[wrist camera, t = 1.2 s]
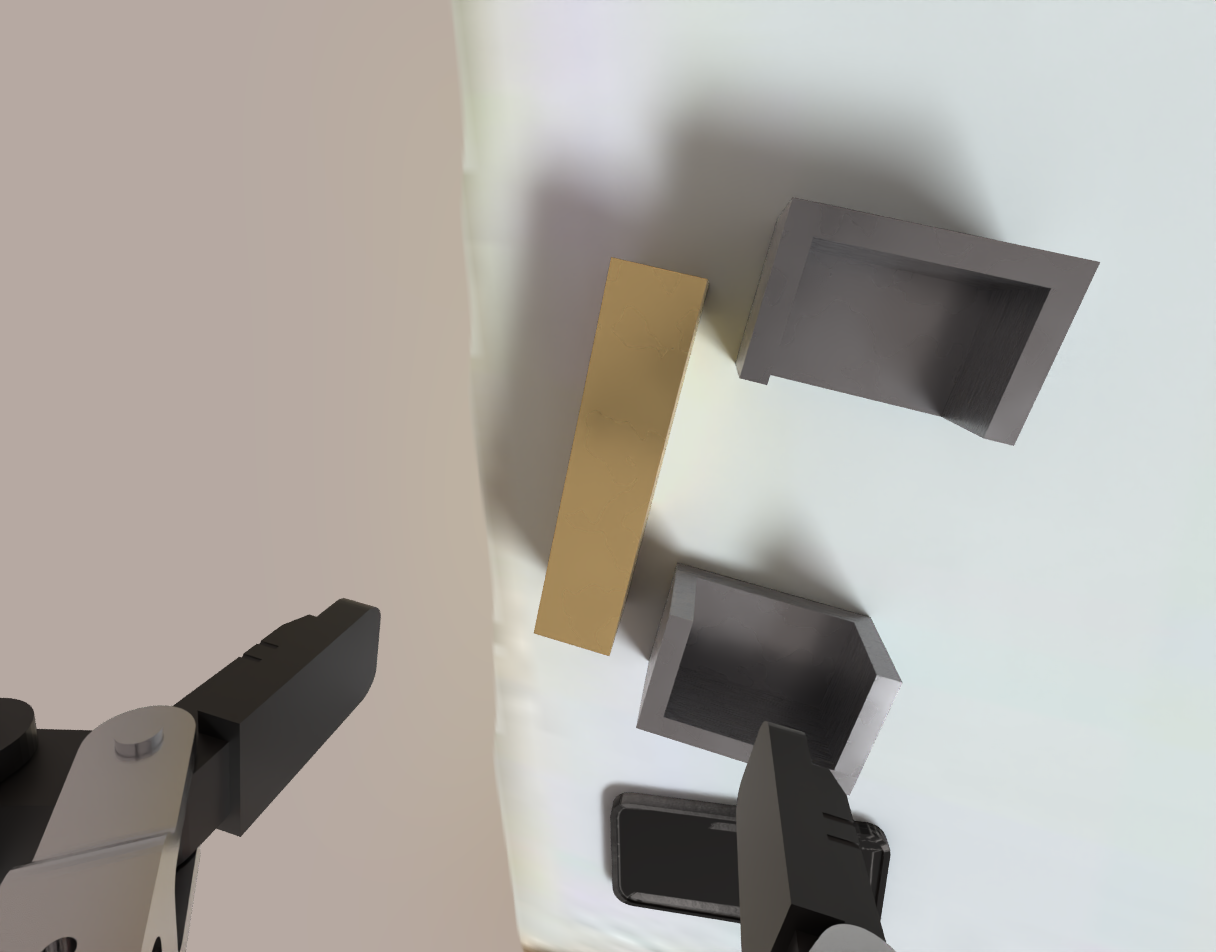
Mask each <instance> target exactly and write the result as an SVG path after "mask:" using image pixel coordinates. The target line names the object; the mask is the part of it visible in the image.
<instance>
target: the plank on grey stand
mask: <svg viewBox="0 0 1216 952" xmlns="http://www.w3.org/2000/svg"><path fill="white" fill-rule="evenodd" d="M1099 264H1100V262H1097V261H1092V260H1088V259H1083V258H1078V257H1073V256H1069V255H1064V254H1059V253H1054V252H1050V251H1045V250H1040V249H1035V248H1031V247H1026V246H1021V245H1016V244H1012V243H1007V242H1002V241H997V240H993V239H988V238H983V237H978V236H974V235H969V234H964V233H959V232H955V231H950V230H945V229H941V228H936V227H931V226H926V225H922V224H917V223H912V222H907V221H903V220H898V219H893V218H888V217H884V216H879V215H874V214H869V213H865V212H860V211H855V210H850V209H846V208H841V207H836V206H831V205H827V204H822V203H817V202H812V201H808V200H803V199H798V198H792V199H791V201H790V202H789V203H788V205H787V206H786V208H785V209H784V210H783V212H782V213H781V214H780V216H779V217H778V219H777V222H776V226H775V229H774V232H773V236H772V239H771V243H770V246H769V250H768V253H767V257H766V260H765V263H764V267H763V270H762V274H761V277H760V281H759V284H758V288H757V291H756V294H755V298H754V301H753V305H752V308H751V312H750V315H749V318H748V322H747V325H746V329H745V332H744V336H743V339H742V343H741V346H740V349H739V353H738V356H737V360H736V363H735V365H736V368H737V372H738V375H739V378H741V379H745V380H749V381H753V382H757V383H761V384H765V385H767V384H768V380H769V377H770V375H773V376H777V377H781V378H785V379H789V380H794V381H798V382H802V383H806V384H810V385H814V386H818V387H822V388H826V389H830V390H834V391H839V392H843V393H847V394H851V395H855V396H859V397H863V398H867V399H871V400H875V401H880V402H884V403H888V404H892V405H896V406H900V407H904V408H908V409H912V410H916V411H920V412H925V413H929V414H933V415H937V416H941V417H943V418H945V419H947V420H949V421H951V422H953V423H955V424H957V425H959V426H961V427H962V428H964V429H966V430H968V431H970V432H972V433H974V434H976V435H978V436H980V437H982V438H985V439H989V440H993V441H997V442H1001V443H1005V444H1009V445H1013V446H1014V444H1015V442H1016V440H1017V438H1018V436H1019V434H1020V432H1021V429H1022V427H1023V425H1024V423H1025V421H1026V419H1027V417H1028V415H1029V412H1030V410H1031V408H1032V406H1033V404H1034V402H1035V400H1036V398H1037V395H1038V393H1039V391H1040V389H1041V387H1042V385H1043V383H1044V381H1045V378H1046V376H1047V374H1048V372H1049V370H1050V368H1051V366H1052V364H1053V361H1054V359H1055V357H1056V355H1057V353H1058V351H1059V349H1060V346H1061V344H1062V342H1063V340H1064V338H1065V336H1066V334H1067V332H1068V329H1069V327H1070V325H1071V323H1072V321H1073V319H1074V317H1075V315H1076V312H1077V310H1078V308H1079V306H1080V304H1081V302H1082V300H1083V298H1084V295H1085V293H1086V291H1087V289H1088V287H1089V285H1090V283H1091V281H1092V278H1093V276H1094V274H1095V272H1096V270H1097V268H1098V266H1099ZM901 685H902V681H901V679H900V677H899V675H898V673H897V671H896V669H895V666H894V664H893V662H892V660H891V658H890V656H889V654H888V652H887V650H886V648H885V646H884V644H883V642H882V640H881V638H880V636H879V634H878V632H877V630H876V628H875V625H874V623H873V621H872V619H871V617H867V616H864V615H860V614H856V613H853V612H849V611H846V610H842V609H839V608H835V607H832V606H828V605H825V604H821V603H818V602H814V601H811V600H807V599H804V598H800V597H796V596H793V595H789V594H786V593H782V592H779V591H775V590H772V589H768V588H765V587H761V586H758V585H754V584H751V583H747V582H744V581H740V580H737V579H733V578H729V577H726V576H722V575H719V574H715V573H712V572H708V571H705V570H701V569H698V568H694V567H691V566H687V565H684V564H680V563H677V566H676V570H675V573H674V577H673V580H672V584H671V587H670V590H669V594H668V597H667V601H666V604H665V608H664V611H663V615H662V618H661V621H660V625H659V628H658V632H657V635H656V639H655V642H654V645H653V649H652V652H651V656H650V659H649V663H648V668H647V674H646V679H645V684H644V689H643V695H642V700H641V705H640V710H639V716H638V721H637V726H636V728H638V729H641V730H644V731H648V732H651V733H654V734H657V735H660V736H663V737H667V738H670V739H673V740H676V741H679V742H682V743H685V744H689V745H692V746H695V747H698V748H701V749H704V750H708V751H711V752H714V753H717V754H720V755H723V756H727V757H730V758H733V759H736V760H739V761H742V762H745V763H748V760H749V758H750V755H751V752H752V749H753V746H754V744H755V741H756V738H757V735H758V732H759V729H760V727H761V725H762V723H763V722H764V721H768V722H771V723H774V724H778V725H781V726H785V727H788V728H792V729H795V730H799V731H802V732H804V733H805V735H806V738H807V742H808V747H809V752H810V756H811V761H812V764H814V765H818V766H821V767H824V768H828V769H829V770H830V771H831V773H832V774H833V776H834V777H835V779H836V780H837V782H838V783H839V785H840V786H841V788H842V789H843V791H844V792H845V794H847V795H850V793H851V791H852V789H853V787H854V785H855V783H856V780H857V778H858V776H859V774H860V772H861V770H862V768H863V766H864V763H865V761H866V759H867V757H868V755H869V753H870V751H871V749H872V746H873V744H874V742H875V740H876V738H877V736H878V734H879V732H880V729H881V727H882V725H883V723H884V721H885V719H886V717H887V715H888V712H889V710H890V708H891V706H892V704H893V702H894V700H895V698H896V695H897V693H898V691H899V689H900V687H901Z"/></svg>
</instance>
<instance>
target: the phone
mask: <svg viewBox="0 0 1216 952" xmlns="http://www.w3.org/2000/svg"><path fill="white" fill-rule="evenodd" d="M736 808H737V806H733V805H725V804H717V803H709V802H702V801H694V800H686V799H678V798H670V797H662V796H655V795H647V794H639V793H623V794H620V795H619V796H617V797H616V798H615V800H614V801H613V806H612V811H611V817H610V818H611V851H612V884H613V892H614V894H615V896H616V897H617V898H618V899H619V900H620V901H621V902H623V903H625V904H628V905H631V906H637V907H643V908H649V909H655V910H662V911H668V912H674V913H680V914H686V915H692V916H699V917H705V918H711V919H717V920H723V921H729V922H736V923H740V899H739V875H738V850H737V826H736ZM853 827H855V829H856V833H857V836H858V840H859V849H860V850H861V851H862V855H863V859H864V862H865V866H866V870H867V874H868V877H869V881H870V885H871V889H872V892H873V896H874V900H875V904H876V907H877V911H878V915H879V918H880V920H881V914H882V907H883V900H884V894H885V887H886V880H887V874H888V867H889V861H890V848H889V845H888V842H887V839H886V836H885V834H884V832H883V831H882V830H881V829H880V828H879V827H877V826H875V825H873V824H870V823H866V822H858V821H854V822H853Z"/></svg>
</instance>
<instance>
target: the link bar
mask: <svg viewBox="0 0 1216 952" xmlns="http://www.w3.org/2000/svg"><path fill="white" fill-rule="evenodd" d="M708 286H709V282H708V279H705V278H700V277H696V276H692V275H687V274H683V273H678V272H674V271H670V270H665V269H661V268H656V267H652V266H648V265H643V264H639V263H634V262H630V261H626V260H621V259H617V258H612V257H611V261H610V266H609V270H608V275H607V280H606V285H605V290H604V295H603V300H602V304H601V309H600V314H599V319H598V324H597V329H596V334H595V338H594V343H593V348H592V353H591V358H590V363H589V368H588V372H587V377H586V382H585V387H584V392H583V397H582V402H581V406H580V411H579V416H578V421H577V426H576V431H575V435H574V440H573V445H572V450H571V455H570V460H569V465H568V469H567V474H566V479H565V484H564V489H563V494H562V499H561V503H560V508H559V513H558V518H557V523H556V528H555V533H554V537H553V542H552V547H551V552H550V557H549V562H548V567H547V571H546V576H545V581H544V586H543V591H542V596H541V600H540V605H539V610H538V615H537V620H536V625H535V630H534V633H535V634H538V635H541V636H544V637H548V638H551V639H554V640H558V641H561V642H564V643H568V644H571V645H574V646H578V647H581V648H584V649H587V650H591V651H594V652H597V653H601V654H604V655H607V656H610V652H611V649H612V646H613V643H614V639H615V636H616V633H617V629H618V626H619V623H620V619H621V616H622V613H623V610H624V606H625V603H626V599H627V595H628V592H629V588H630V584H631V580H632V576H633V572H634V569H635V565H636V561H637V557H638V553H639V550H640V546H641V542H642V538H643V534H644V530H645V527H646V523H647V519H648V515H649V511H650V508H651V504H652V500H653V496H654V492H655V488H656V485H657V481H658V477H659V473H660V469H661V465H662V462H663V458H664V454H665V450H666V446H667V443H668V439H669V435H670V431H671V427H672V423H673V420H674V416H675V412H676V408H677V404H678V401H679V397H680V393H681V389H682V385H683V381H684V378H685V374H686V370H687V366H688V362H689V358H690V355H691V351H692V347H693V343H694V339H695V336H696V332H697V328H698V324H699V320H700V316H701V313H702V309H703V305H704V301H705V297H706V294H707V290H708Z"/></svg>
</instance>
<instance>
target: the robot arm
mask: <svg viewBox="0 0 1216 952" xmlns="http://www.w3.org/2000/svg"><path fill="white" fill-rule="evenodd" d="M380 616H381V615H380V610H379V609H378V608H376V607H373V606H370V605H366V604H363V603H359V602H356V601H352V600H349V599H345V598H343V599H339V600H338V601H336V602H335V603H334V604H332V605H331V606H330V607H329V608H327V609H326V610H325V611H323V612H322V613H321V614H320V615H319V616H317V617H315V616H312V615H307V616H304V617H302V618H299V619H297V620H294V621H292V622H289V623H286V624H284V625H282V626H280V627H279V628H278V629H276V630H275V631H273V632H272V633H271V634H270V635H268V636H267V637H265V638H264V639H263V640H261V643H260V644H256V645H255V646H253V647H252V648H251V649H249V650H248V651H247V652H245V653H244V654H243V657H242V658H241V657H238V658H237V659H236V660H234V661H233V662H232V663H230V664H229V665H228V666H226V667H225V668H224V669H222V670H221V671H219V672H218V673H217V674H215V675H214V676H213V677H211V678H210V679H209V680H207V681H206V682H205V683H203V684H202V685H200V686H199V687H198V688H196V689H195V690H194V691H192V692H191V693H190V694H188V695H187V696H186V697H184V698H183V699H182V700H180V701H179V702H178V703H176V704H175V705H174V706H149V707H144V708H138V709H135V710H131V711H128V712H125V713H123V714H120V715H117V716H115V717H114V718H111V719H109V720H108V721H106V722H104V723H103V724H101V725H99V726H98V727H97V728H95V729H94V730H93V731H90V730H89V731H88V730H54V729H36V723H35V717H34V711H33V709H32V707H31V706H30V705H28V704H27V703H26V702H23V701H21V700H17V699H11V698H0V952H186V947H187V940H188V933H189V927H190V920H191V914H192V907H193V900H194V893H195V887H196V880H197V873H198V867H199V861H200V845H201V844H202V843H203V842H204V841H205V839H207V837H208V836H209V835H210V834H211V833H212V832H213V831H214V830H215V829H219V830H222V831H226V832H228V833H231V834H234V835H237V836H240V837H241V836H242V835H243V833H244V832H245V831H246V830H247V829H248V828H249V827H250V826H251V825H252V823H253V822H254V821H255V820H256V819H257V818H258V817H259V816H260V814H261V813H262V812H263V811H264V810H265V809H266V808H267V807H268V806H269V804H270V803H271V802H272V801H273V800H274V799H275V798H276V797H277V795H278V794H279V793H280V792H281V791H282V790H283V789H284V787H285V786H286V785H287V784H288V783H289V782H290V781H291V780H292V779H293V777H294V776H295V775H296V774H297V773H298V772H299V771H300V769H302V767H303V766H304V765H305V764H306V763H307V762H308V761H309V760H310V758H311V757H312V756H313V755H314V754H315V753H316V752H317V751H318V749H319V748H320V747H321V746H322V745H323V744H324V742H326V740H327V739H328V738H329V737H330V736H331V735H332V734H333V733H334V731H335V730H336V729H337V728H338V727H339V726H340V725H341V724H342V723H343V721H344V720H345V719H346V718H347V717H348V716H349V714H351V712H352V711H353V710H354V709H355V708H356V707H357V706H358V705H359V703H360V702H361V701H362V700H363V699H364V697H365V696H366V694H367V693H368V691H369V689H370V687H371V684H372V682H373V680H374V677H375V673H376V665H377V654H378V642H379V630H380V618H381V617H380ZM853 822H854V821H853V818H852V814H851V810H850V806H849V803H848V799H847V795H846V794H845V792H844V791H843V789H842V788H841V786H840V785H839V783H838V782H837V780H836V779H835V777H834V776H833V774H832V773H831V771H830V770H829V769H828V768H824V767H821V766H818V765H814V764H812V761H811V756H810V752H809V747H808V742H807V738H806V735H805V733H804V732H802V731H799V730H795V729H792V728H788V727H785V726H781V725H778V724H774V723H771V722H768V721H764V722H763V723H762V725H761V727H760V729H759V732H758V735H757V738H756V741H755V744H754V746H753V749H752V752H751V755H750V758H749V760H748V763H747V766H746V769H745V772H744V775H743V777H742V780H741V784H740V788H739V793H738V799H737V808H736V826H737V850H738V875H739V899H740V924H741V948H742V952H896V951H895V950H894V949H893V948H892V947H891V946H889V945H888V944H887V943H886V940H885V937H884V933H883V930H882V926H881V922H880V918H879V915H878V911H877V907H876V904H875V900H874V896H873V892H872V889H871V885H870V881H869V877H868V874H867V870H866V866H865V862H864V859H863V855H862V851H861V850H860V849H859V840H858V836H857V833H856V829H855V827H853Z"/></svg>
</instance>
